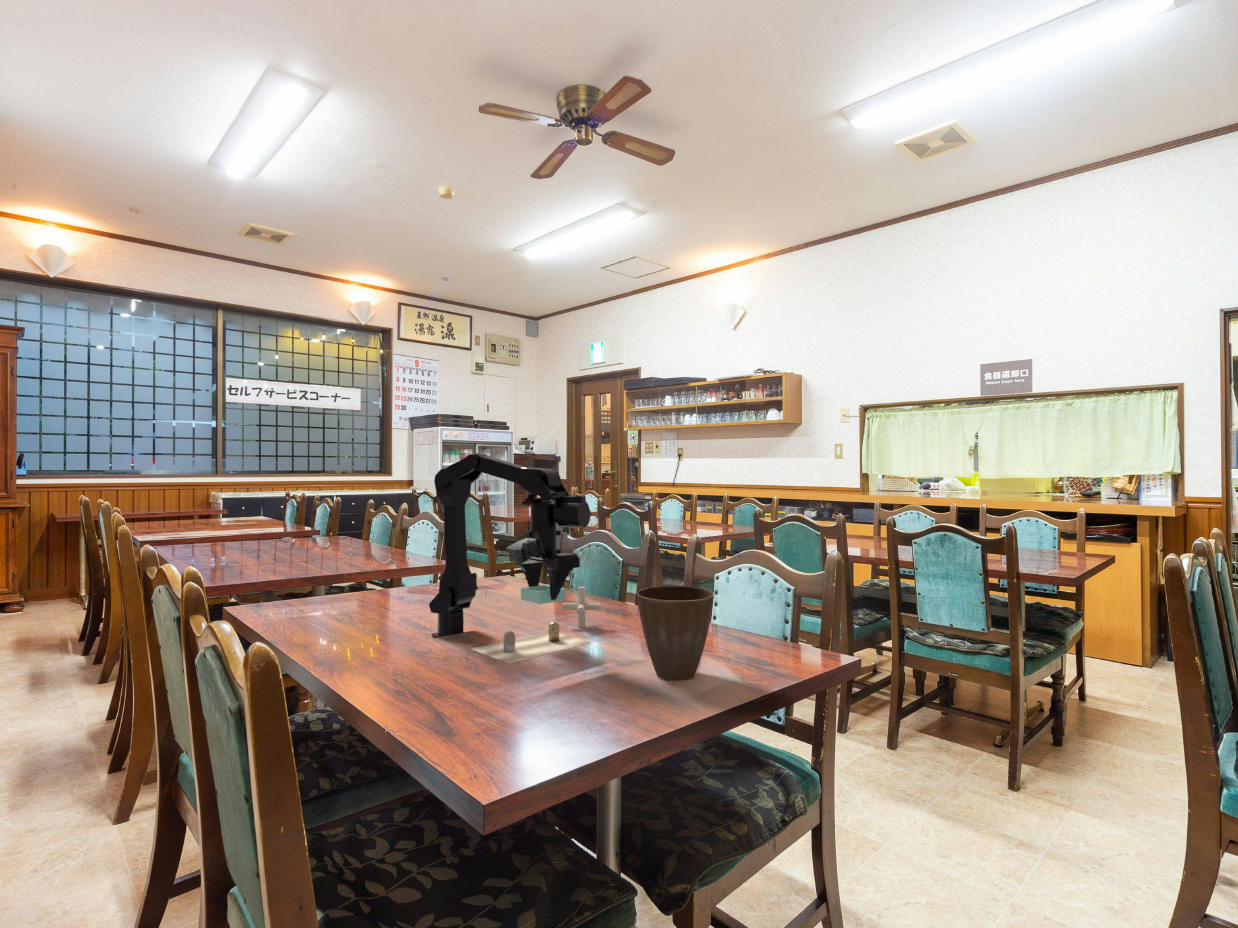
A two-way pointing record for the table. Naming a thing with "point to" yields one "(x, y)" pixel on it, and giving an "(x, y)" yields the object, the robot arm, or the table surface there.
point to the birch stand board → (527, 646)
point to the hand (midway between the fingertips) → (543, 597)
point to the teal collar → (541, 594)
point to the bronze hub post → (554, 632)
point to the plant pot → (675, 628)
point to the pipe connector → (581, 606)
